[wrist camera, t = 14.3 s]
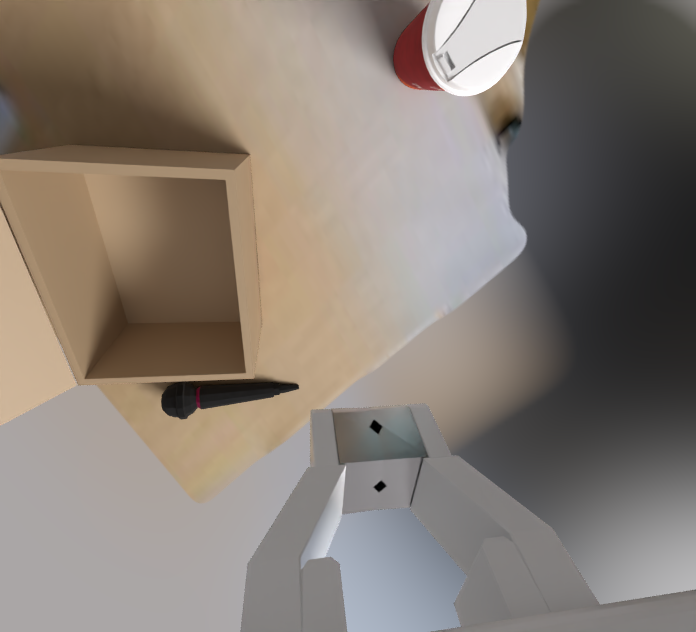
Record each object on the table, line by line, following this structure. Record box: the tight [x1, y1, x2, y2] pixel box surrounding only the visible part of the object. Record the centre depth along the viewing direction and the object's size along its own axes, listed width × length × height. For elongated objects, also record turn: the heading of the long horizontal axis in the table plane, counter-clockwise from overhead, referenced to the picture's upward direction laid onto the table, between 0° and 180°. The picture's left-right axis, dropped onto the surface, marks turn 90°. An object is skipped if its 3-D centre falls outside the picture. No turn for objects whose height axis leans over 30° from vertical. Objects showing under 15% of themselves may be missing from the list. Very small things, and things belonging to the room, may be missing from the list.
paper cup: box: [393, 0, 526, 96], centre depth 30 cm, size 8×8×14 cm
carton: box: [0, 145, 262, 385], centre depth 37 cm, size 18×22×12 cm
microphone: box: [161, 381, 299, 419], centre depth 53 cm, size 6×6×20 cm
